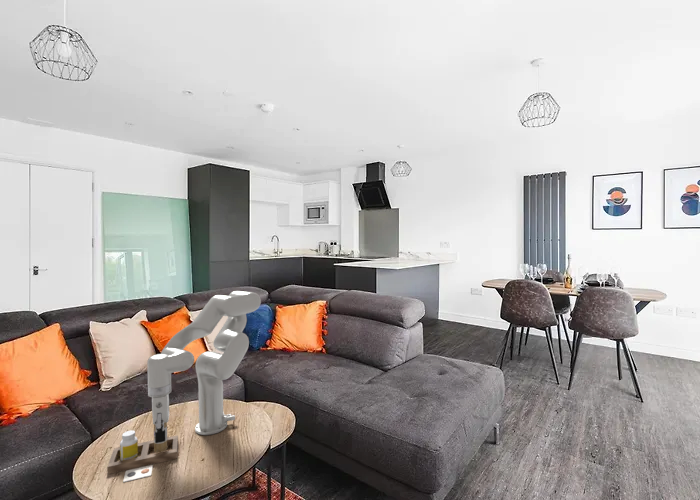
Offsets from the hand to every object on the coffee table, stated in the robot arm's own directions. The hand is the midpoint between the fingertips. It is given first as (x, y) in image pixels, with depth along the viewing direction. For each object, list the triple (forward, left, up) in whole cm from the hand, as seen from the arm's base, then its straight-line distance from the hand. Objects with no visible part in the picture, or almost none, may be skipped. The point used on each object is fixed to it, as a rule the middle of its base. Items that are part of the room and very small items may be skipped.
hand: (160, 437), depth 132 cm
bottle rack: (+5, 0, -6) cm, 8 cm away
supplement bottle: (+10, 0, -6) cm, 12 cm away
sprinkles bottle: (0, 0, -5) cm, 5 cm away
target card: (+6, +10, -6) cm, 13 cm away
